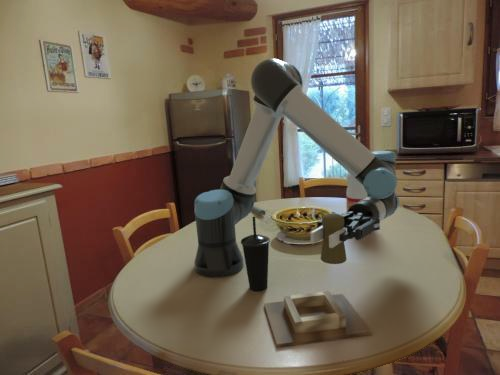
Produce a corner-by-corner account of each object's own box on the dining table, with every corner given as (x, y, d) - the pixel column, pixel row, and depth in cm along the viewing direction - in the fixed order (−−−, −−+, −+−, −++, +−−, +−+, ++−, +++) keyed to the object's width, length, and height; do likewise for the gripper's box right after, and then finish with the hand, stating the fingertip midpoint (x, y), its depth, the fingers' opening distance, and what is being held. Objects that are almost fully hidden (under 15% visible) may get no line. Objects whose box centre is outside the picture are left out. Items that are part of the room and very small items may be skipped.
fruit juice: (368, 221, 146) (368, 152, 140) (374, 229, 137) (375, 155, 131) (344, 222, 147) (343, 154, 141) (349, 230, 138) (348, 157, 132)
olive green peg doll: (347, 264, 83) (347, 218, 81) (320, 263, 84) (319, 218, 82) (345, 253, 89) (345, 210, 86) (320, 253, 90) (319, 211, 87)
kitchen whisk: (256, 208, 178) (255, 195, 176) (284, 227, 146) (284, 213, 145) (244, 209, 176) (244, 197, 175) (270, 230, 145) (270, 215, 143)
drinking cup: (256, 278, 104) (251, 211, 99) (277, 285, 99) (274, 215, 95) (238, 289, 98) (233, 218, 94) (261, 297, 93) (256, 223, 89)
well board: (277, 347, 73) (276, 332, 72) (264, 306, 89) (263, 293, 88) (371, 334, 75) (371, 319, 74) (342, 296, 91) (342, 283, 90)
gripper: (397, 232, 93) (356, 264, 76) (337, 221, 104) (290, 247, 87) (398, 204, 91) (356, 230, 75) (337, 196, 103) (289, 218, 86)
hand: (321, 239), depth 81 cm, fingers closed on olive green peg doll, 4 cm apart
